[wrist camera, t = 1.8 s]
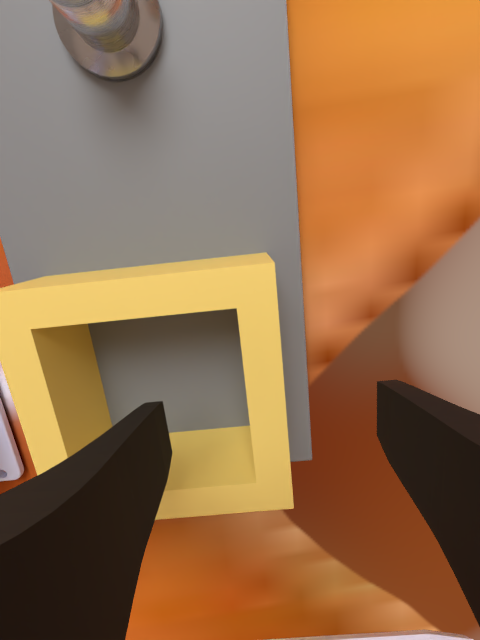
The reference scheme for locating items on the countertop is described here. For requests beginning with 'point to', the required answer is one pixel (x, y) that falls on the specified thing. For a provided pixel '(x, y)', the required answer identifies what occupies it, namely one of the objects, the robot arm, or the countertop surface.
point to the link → (88, 394)
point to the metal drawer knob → (110, 35)
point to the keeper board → (160, 193)
